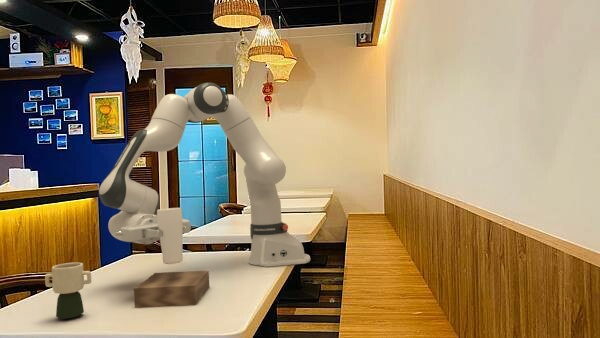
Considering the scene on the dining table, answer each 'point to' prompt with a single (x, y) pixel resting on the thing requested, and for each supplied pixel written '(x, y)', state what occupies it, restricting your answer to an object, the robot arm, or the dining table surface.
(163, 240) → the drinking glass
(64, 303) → the character mug
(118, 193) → the robot arm
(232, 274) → the dining table surface
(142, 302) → the walnut riser dock
